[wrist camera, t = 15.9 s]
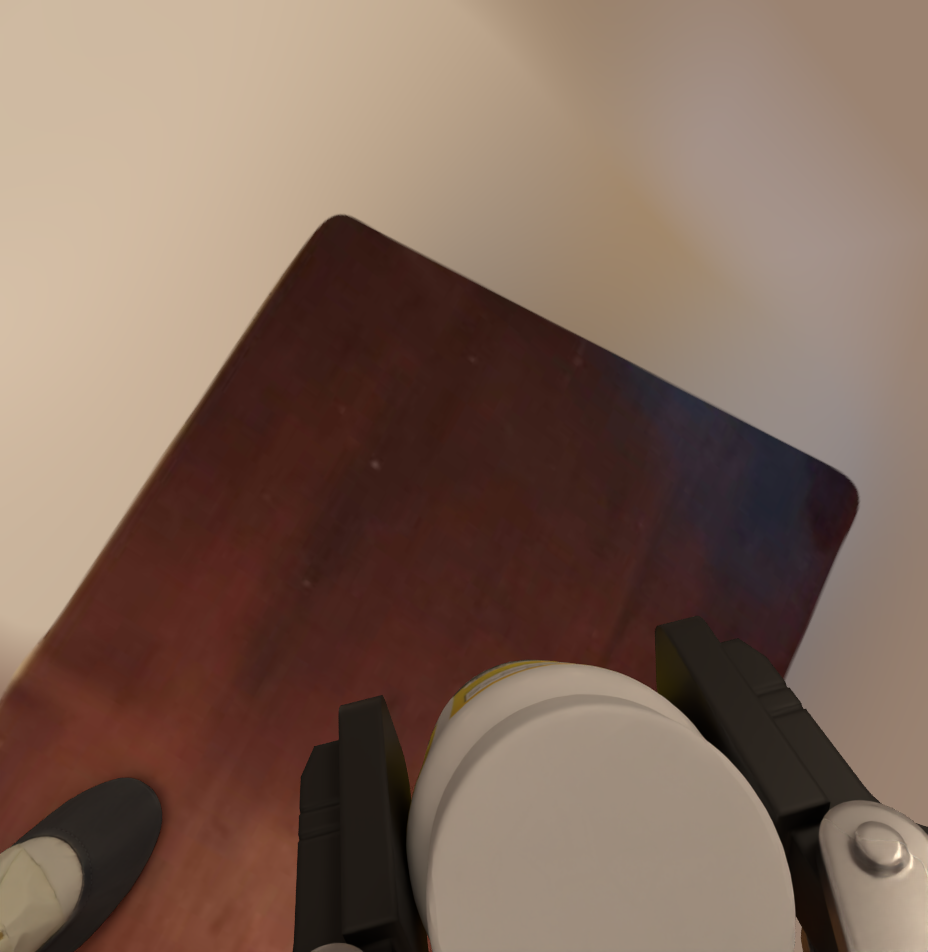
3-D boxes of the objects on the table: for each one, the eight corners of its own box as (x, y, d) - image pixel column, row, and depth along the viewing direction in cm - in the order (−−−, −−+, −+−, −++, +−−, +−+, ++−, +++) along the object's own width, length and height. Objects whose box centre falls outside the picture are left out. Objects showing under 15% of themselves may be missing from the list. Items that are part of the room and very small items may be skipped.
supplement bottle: (557, 935, 15) (678, 1302, 6) (383, 793, 15) (291, 961, 7) (677, 742, 15) (914, 848, 7) (508, 617, 16) (553, 585, 8)
